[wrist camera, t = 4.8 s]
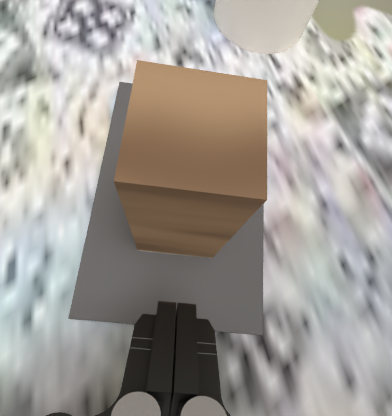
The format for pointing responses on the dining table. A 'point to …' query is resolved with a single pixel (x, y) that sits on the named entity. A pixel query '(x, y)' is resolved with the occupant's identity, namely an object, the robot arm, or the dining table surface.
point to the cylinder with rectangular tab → (263, 23)
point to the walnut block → (191, 158)
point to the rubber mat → (163, 262)
